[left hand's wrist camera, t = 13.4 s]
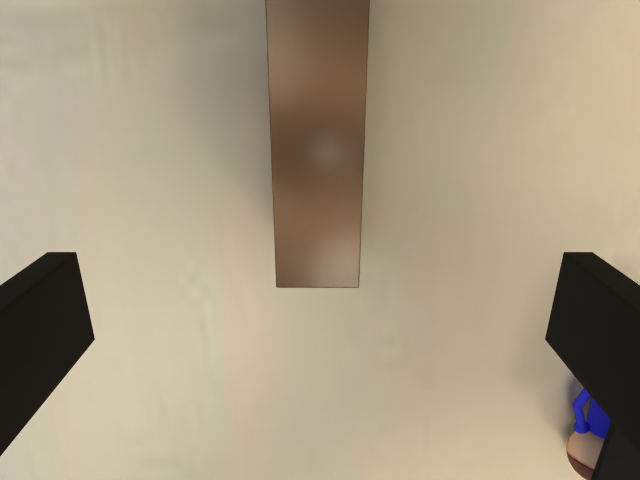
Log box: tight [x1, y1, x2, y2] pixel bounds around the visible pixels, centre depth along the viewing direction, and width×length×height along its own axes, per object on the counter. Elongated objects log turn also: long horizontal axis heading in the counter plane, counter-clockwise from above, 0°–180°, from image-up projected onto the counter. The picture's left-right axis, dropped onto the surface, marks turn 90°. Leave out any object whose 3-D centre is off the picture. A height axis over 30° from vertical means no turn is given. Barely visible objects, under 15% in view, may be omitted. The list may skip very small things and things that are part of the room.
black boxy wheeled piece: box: [567, 388, 640, 480], centre depth 39 cm, size 7×8×15 cm
